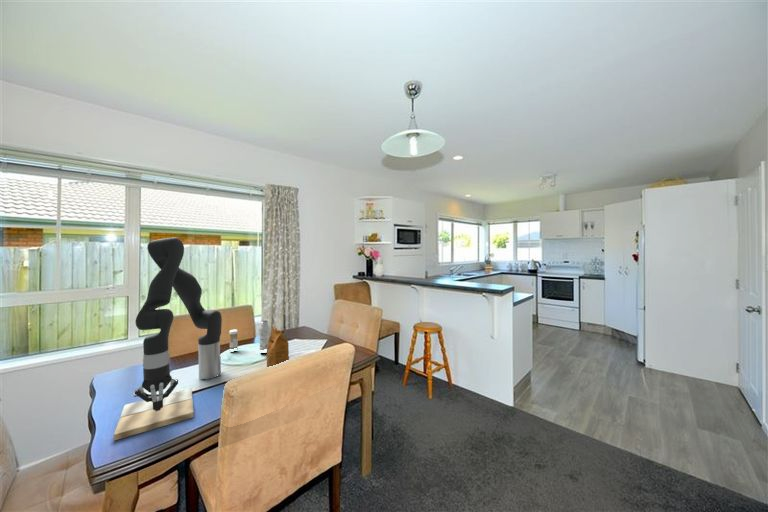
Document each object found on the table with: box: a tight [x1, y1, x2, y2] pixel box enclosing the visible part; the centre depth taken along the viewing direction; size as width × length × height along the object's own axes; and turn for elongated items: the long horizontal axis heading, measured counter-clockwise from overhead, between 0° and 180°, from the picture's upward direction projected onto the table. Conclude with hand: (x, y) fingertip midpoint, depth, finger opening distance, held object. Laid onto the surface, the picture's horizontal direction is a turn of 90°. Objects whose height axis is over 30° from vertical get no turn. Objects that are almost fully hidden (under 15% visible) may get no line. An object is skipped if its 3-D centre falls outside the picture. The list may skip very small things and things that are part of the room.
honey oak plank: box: [113, 398, 194, 441], centre depth 104 cm, size 22×12×2 cm, turn 126°
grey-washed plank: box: [119, 388, 193, 419], centre depth 113 cm, size 22×10×2 cm, turn 126°
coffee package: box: [265, 326, 290, 368], centre depth 149 cm, size 10×12×22 cm
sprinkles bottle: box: [228, 329, 239, 350], centre depth 174 cm, size 5×5×13 cm
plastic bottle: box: [258, 320, 271, 350], centre depth 170 cm, size 6×7×20 cm
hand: (158, 409), depth 102 cm, fingers closed
